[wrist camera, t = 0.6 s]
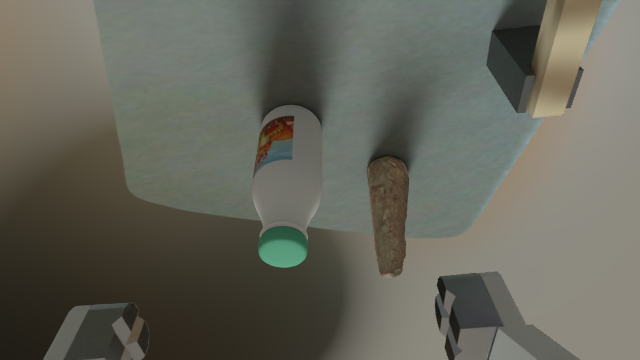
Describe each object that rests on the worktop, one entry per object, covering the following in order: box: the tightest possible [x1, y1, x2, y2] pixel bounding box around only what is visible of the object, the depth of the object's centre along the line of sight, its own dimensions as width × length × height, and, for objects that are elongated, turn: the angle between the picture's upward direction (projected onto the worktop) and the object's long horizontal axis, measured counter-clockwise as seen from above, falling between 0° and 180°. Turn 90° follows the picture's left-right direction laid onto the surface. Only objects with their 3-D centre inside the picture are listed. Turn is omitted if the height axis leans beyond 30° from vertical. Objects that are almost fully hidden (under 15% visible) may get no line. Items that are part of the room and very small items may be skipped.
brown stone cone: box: [367, 156, 409, 278], centre depth 52 cm, size 6×18×6 cm
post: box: [486, 26, 584, 113], centre depth 42 cm, size 4×5×10 cm
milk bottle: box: [252, 105, 322, 267], centre depth 46 cm, size 8×8×20 cm
